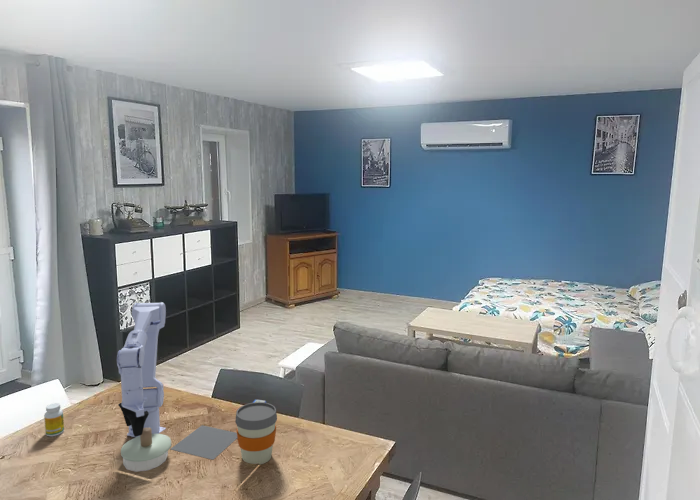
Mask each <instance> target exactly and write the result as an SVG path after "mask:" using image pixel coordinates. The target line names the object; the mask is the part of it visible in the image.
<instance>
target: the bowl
mask: <svg viewBox="0 0 700 500" xmlns="http://www.w3.org/2000/svg"><path fill="white" fill-rule="evenodd" d="M168 456H169V450H168V451H167V452H166V453H164V454H163V455H161V456H159V457H157V458H154V459H151V460H147V461H140V462H134V461H128V460H126V459H124V458H123V457H122V463H123V466H124V468H125V469H126V470H128V471H132V472H145V471H149V470H153V469H155V468H158V467H160V466H161V465H162V464H163V463H165V462H166V461H167V459H168Z"/></svg>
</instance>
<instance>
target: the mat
mask: <svg viewBox="0 0 700 500" xmlns="http://www.w3.org/2000/svg"><path fill="white" fill-rule="evenodd" d="M236 440H238V438H237V432H234V431H229V430H226V429H225V430H224V429H221V428H217V427H214V426H213V427H212V426H208V425H203V424H202V425H200V426H199V427H197V428H196V429H195V430H193V431H192V432H191V433H189V434H188V435H187V436H185V437H184V438H183V439H181V440H180V441H178V442H177V443H175V445H174V446H171V447H170V451H171V450H172V451H175V452H180V453H183V454H188V455H191V456H195V457H199V458H204V459H208V460H212V461H213V460H215V459H216V458H217V457H218V456H219V455H220V454H222V452H224V451H225V450H227V448H228V447H229V446H230V445H232V443H234V442H235V441H236Z"/></svg>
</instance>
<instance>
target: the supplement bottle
mask: <svg viewBox="0 0 700 500" xmlns="http://www.w3.org/2000/svg"><path fill="white" fill-rule="evenodd" d="M61 407H62V406H61V404H60V403H59V402H53V403H50V404H48V405H46V407H45V411H46V412H45V413H44V415H43V418H44V419H43V420H44V432H45V435H46V436H47V437H57V436H59V435H61V434H63V433H64V432H65V424H64V423H65V421H64V410H63V409H61Z"/></svg>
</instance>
